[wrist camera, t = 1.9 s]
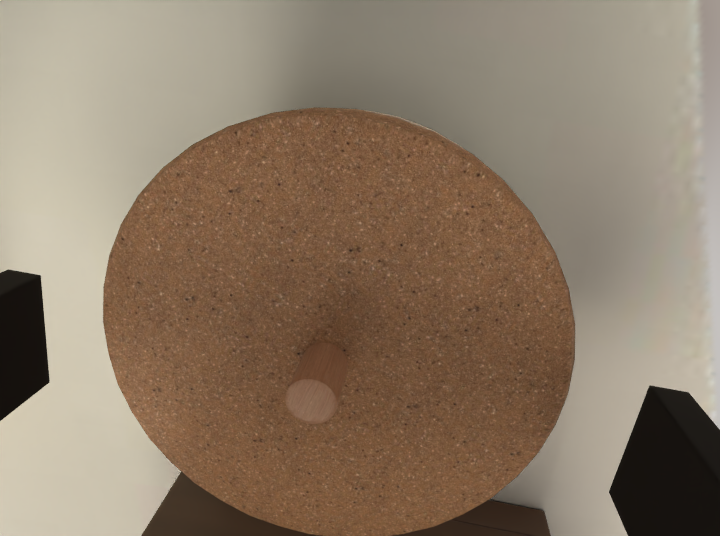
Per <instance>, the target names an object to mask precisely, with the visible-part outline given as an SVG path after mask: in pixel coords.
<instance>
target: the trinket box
mask: <svg viewBox="0 0 720 536" xmlns="http://www.w3.org/2000/svg"><path fill="white" fill-rule="evenodd" d="M103 323H104V329H105V335H106V341H107V346H108V352H109V356H110V360H111V363H112V366H113V369H114V373H115V376H116V379H117V383H118V385H119V387H120V389H121V391H122V393H123V395H124V397H125V399H126V401H127V403H128V405H129V407H130V409H131V411H132V413H133V414H134V416H135V417H136V419H137V420H138V422H139V423H140V425H141V426H142V428H143V429H144V431H145V432H146V434H147V435H148V437H149V438H150V440H151V441H152V442H153V443H154V444H155V445H156V446H157V447H158V448H159V449H160V450H161V452H162V453H163V454H164V455H165V456H166V457H167V458H168V459H169V460H170V461H171V462H172V463H173V464H174V465H175V466H176V467H177V468H178V469H179V470H181V471H182V472H183V473H184V474H185V475H186V476H187V477H188V478H190V479H191V480H192V481H193V482H194V483H195V484H197V485H198V486H200V487H201V488H203V489H204V490H206V491H208V492H209V493H211V494H212V495H214V496H215V497H217V498H218V499H220V500H221V501H223V502H225V503H227V504H229V505H231V506H233V507H234V508H236V509H238V510H240V511H242V512H244V513H246V514H248V515H250V516H252V517H255V518H258V519H261V520H264V521H266V522H269V523H272V524H275V525H277V526H281V527H284V528H288V529H292V530H296V531H300V532H304V533H308V534H314V535H323V536H391V535H399V534H405V533H409V532H413V531H418V530H422V529H426V528H430V527H434V526H437V525H439V524H441V523H444V522H446V521H448V520H451V519H453V518H455V517H458V516H460V515H463V514H464V513H466V512H468V511H470V510H471V509H473V508H475V507H477V506H479V505H480V504H482V503H484V502H486V501H487V500H489V499H491V498H492V497H493V496H494V495H496V494H497V493H498V492H499V491H500V490H501V489H503V488H504V487H505V486H506V485H507V484H509V483H510V482H511V481H512V480H513V479H515V478H516V477H517V476H518V475H519V474H520V473H521V471H522V470H523V469H524V468H525V467H526V466H527V465H528V464H529V462H530V461H531V460H532V459H533V458H534V457H535V456H536V455H537V453H538V452H539V451H540V449H541V447H542V446H543V444H544V443H545V441H546V439H547V438H548V436H549V434H550V433H551V431H552V430H553V428H554V426H555V425H556V422H557V420H558V417H559V415H560V412H561V410H562V407H563V405H564V402H565V400H566V397H567V395H568V391H569V386H570V381H571V375H572V370H573V365H574V360H575V322H574V317H573V311H572V305H571V300H570V294H569V288H568V286H567V283H566V280H565V278H564V275H563V272H562V269H561V267H560V264H559V261H558V259H557V256H556V253H555V251H554V250H553V248H552V246H551V244H550V243H549V241H548V239H547V238H546V236H545V234H544V233H543V231H542V229H541V228H540V226H539V224H538V222H537V221H536V219H535V217H534V216H533V214H532V213H531V212H530V211H529V209H528V208H527V207H526V206H525V205H524V204H523V202H522V201H521V200H520V199H519V198H518V197H517V195H516V194H515V193H514V192H513V191H512V189H511V188H510V187H509V186H508V185H507V184H506V182H505V181H504V180H503V179H502V178H500V177H499V176H498V175H497V174H496V173H494V172H493V171H492V170H491V169H490V168H488V167H487V166H486V165H485V164H484V163H482V162H481V161H480V160H479V159H478V158H476V157H475V156H474V155H473V154H472V153H470V152H468V151H466V150H465V149H464V148H462V147H461V146H460V145H458V144H456V143H454V142H453V141H451V140H449V139H448V138H446V137H444V136H443V135H441V134H439V133H437V132H436V131H434V130H432V129H430V128H427V127H425V126H422V125H420V124H417V123H414V122H412V121H409V120H407V119H404V118H401V117H398V116H393V115H388V114H383V113H378V112H373V111H369V110H358V109H342V108H316V107H314V108H307V109H299V110H291V111H283V112H275V113H270V114H267V115H264V116H260V117H257V118H254V119H251V120H247V121H244V122H241V123H238V124H235V125H231V126H228V127H226V128H224V129H222V130H220V131H218V132H216V133H214V134H212V135H211V136H209V137H207V138H205V139H203V140H201V141H199V142H197V143H195V144H193V145H192V146H190V147H189V148H188V149H186V150H185V151H184V152H183V153H181V154H180V155H179V156H177V157H176V158H175V159H174V160H172V161H171V162H170V163H168V164H167V165H166V166H164V167H163V168H162V169H161V170H160V172H159V173H158V174H157V175H156V176H155V177H154V178H153V179H152V181H151V182H150V183H149V184H148V185H147V186H146V187H145V188H144V189H143V191H142V192H141V193H140V194H139V195H138V197H137V199H136V200H135V202H134V204H133V205H132V207H131V209H130V210H129V212H128V214H127V215H126V217H125V219H124V220H123V222H122V224H121V226H120V229H119V231H118V234H117V237H116V239H115V242H114V245H113V247H112V250H111V253H110V255H109V261H108V266H107V272H106V277H105V283H104V302H103Z"/></svg>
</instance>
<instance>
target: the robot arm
mask: <svg viewBox="0 0 720 536" xmlns="http://www.w3.org/2000/svg"><path fill="white" fill-rule="evenodd" d="M48 383H49V371H48V359H47V347H46V335H45V323H44V311H43V299H42V287H41V275H35V274H30V273H24V272H19V271H13V270H6V271H4V272H1V273H0V421H1V420H2V419H3V418H5V417H6V416H7V415H8V414H10V413H11V412H12V411H13V410H15V409H16V408H17V407H18V406H20V405H21V404H22V403H24V402H25V401H26V400H27V399H29V398H30V397H31V396H32V395H34V394H35V393H36V392H38V391H39V390H40V389H41V388H43V387H44V386H45V385H46V384H48ZM609 493H610V495H611V498H612V500H613V502H614V505H615V507H616V509H617V511H618V514H619V516H620V518H621V521H622V523H623V525H624V527H625V530H626V532H627V534H628V536H720V430H719V428H718V427H717V426H716V425H715V424H714V422H713V421H712V420H711V419H710V418H709V416H708V415H707V414H706V413H705V412H704V410H703V409H702V408H701V407H700V406H699V404H698V403H697V402H696V401H695V400H694V398H693V397H692V396H691V395H690V394H689V393H688V392H683V391H677V390H672V389H666V388H661V387H655V386H649V389H648V391H647V394H646V396H645V399H644V402H643V404H642V407H641V409H640V412H639V415H638V417H637V420H636V423H635V425H634V428H633V430H632V433H631V436H630V438H629V441H628V443H627V446H626V449H625V451H624V454H623V457H622V459H621V462H620V464H619V467H618V470H617V472H616V475H615V477H614V480H613V483H612V485H611V488H610V491H609Z"/></svg>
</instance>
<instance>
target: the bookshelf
mask: <svg viewBox="0 0 720 536" xmlns="http://www.w3.org/2000/svg"><path fill="white" fill-rule="evenodd" d="M142 536H323V535H314V534H308V533H304V532H300V531H296V530H292V529H288V528H284V527H281V526H277V525H275V524H272V523H269V522H266V521H264V520H261V519H258V518H255V517H252V516H250V515H248V514H246V513H244V512H242V511H240V510H238V509H236V508H234V507H233V506H231V505H229V504H227V503H225V502H223V501H221V500H220V499H218V498H217V497H215V496H214V495H212V494H211V493H209V492H208V491H206V490H204V489H203V488H201V487H200V486H198V485H197V484H195V483H194V482H193V481H192V480H191V479H190V478H188V477H187V476H186V475H185V474H184V473H183V472H182V471H181V473H180V475H179V476H178V478H177V479H176V481H175V483H174V484H173V486H172V487H171V489H170V491H169V492H168V494H167V495H166V497H165V499H164V500H163V502H162V503H161V505H160V507H159V508H158V510H157V511H156V513H155V515H154V516H153V518H152V520H151V521H150V523H149V524H148V526H147V528H146V529H145V531H144V532H143V534H142ZM391 536H551V535H550V531H549V528H548V524H547V520H546V516H545V512H544V511H542V510H537V509H532V508H527V507H522V506H517V505H512V504H506V503H501V502H496V501H491V500H487V501H486V502H484V503H482V504H480V505H479V506H477V507H475V508H473V509H471V510H470V511H468V512H466V513H464V514H463V515H460V516H458V517H455V518H453V519H451V520H448V521H446V522H444V523H441V524H439V525H437V526H434V527H430V528H426V529H422V530H418V531H413V532H409V533H405V534H399V535H391Z"/></svg>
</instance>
